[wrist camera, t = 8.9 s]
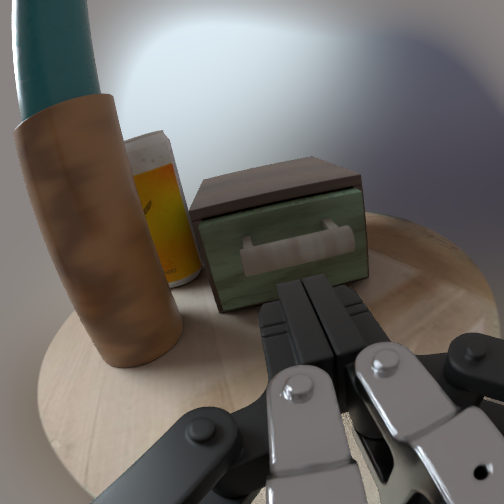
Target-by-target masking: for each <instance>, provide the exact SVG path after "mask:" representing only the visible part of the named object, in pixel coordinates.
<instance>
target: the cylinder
mask: <svg viewBox="0 0 504 504" xmlns="http://www.w3.org/2000/svg"><path fill="white" fill-rule="evenodd" d="M12 41H13V57H14V70H15V79H16V87H17V95H18V101H19V108H20V114H21V119H22V122H23V121H25V120H26V119H28V118H29V117H31V116H33V115H34V114H36V113H38V112H40V111H42V110H44V109H46V108H48V107H51V106H53V105H56V104H58V103H61V102H64V101H67V100H70V99H73V98H77V97H81V96H86V95H92V94H101V91H100V86H99V81H98V76H97V70H96V64H95V58H94V52H93V47H92V39H91V32H90V26H89V17H88V8H87V0H12Z"/></svg>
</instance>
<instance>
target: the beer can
mask: <svg viewBox="0 0 504 504" xmlns="http://www.w3.org/2000/svg"><path fill="white" fill-rule="evenodd" d="M124 144H125V148H126V152H127V156H128V159H129V163H130V167H131V170H132V174H133V177H134V181H135V184H136V188H137V191H138V195H139V198H140V201H141V204H142V208H143V211H144V214H145V217H146V220H147V224H148V227H149V230H150V233H151V236H152V239H153V242H154V245H155V248H156V250H157V253H158V256H159V259H160V262H161V265H162V268H163V270H164V273H165V276H166V279H167V281H168V284H169V287H170V288H173V287H177V286H181V285H183V284H186V283H188V282H190V281H192V280H193V279H195V278H196V277H197V276H198V275H199V273H200V271H201V267H202V265H203V260H202V257H201V254H200V250H199V247H198V243H197V240H196V237H195V233H194V230H193V226H192V223H191V222H192V221H191V219H190V216H189V211H188V207H187V203H186V200H185V196H184V193H183V189H182V185H181V182H180V178H179V174H178V170H177V167H176V163H175V160H174V155H173V151H172V148H171V143H170V140H169V139H168V138H167V136H166V135H165V134H164V133H163V130H161V131H155V132H151V133H148V134H144V135H141V136H138V137H134V138H132V139H128V140H126V141H124Z"/></svg>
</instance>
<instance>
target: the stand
mask: <svg viewBox="0 0 504 504" xmlns="http://www.w3.org/2000/svg"><path fill="white" fill-rule="evenodd" d="M13 136H14V140H15V145H16V150H17V154H18V158H19V162H20V166H21V170H22V174H23V177H24V181H25V184H26V188H27V191H28V195H29V198H30V201H31V204H32V207H33V210H34V213H35V216H36V219H37V221H38V224H39V228H40V230H41V233H42V236H43V238H44V241H45V243H46V246H47V248H48V251H49V254H50V256H51V258H52V261H53V263H54V265H55V268H56V270H57V272H58V275H59V277H60V279H61V281H62V283H63V286H64V288H65V290H66V292H67V294H68V296H69V298H70V300H71V302H72V304H73V306H74V308H75V310H76V312H77V314H78V316H79V318H80V320H81V322H82V324H83V325H84V327H85V329H86V331H87V333H88V335H89V336H90V338H91V340H92V342H93V343H94V345H95V347H96V348H97V350H98V352H99V354H100V355H101V357H102V358H103V360H104V361H105V362H106V363H108V364H110V365H112V366H115V367H123V368H126V367H135V366H139V365H143V364H145V363H148V362H150V361H153V360H155V359H156V358H158V357H160V356H161V355H163V354H164V353H166V352H167V351H168V350H169V349H171V348H172V347H173V346H174V345H175V343H176V342H177V341H178V339H179V338H180V336H181V334H182V331H183V320H182V318H181V315H180V313H179V310H178V307H177V305H176V302H175V300H174V297H173V295H172V292H171V289H170V287H169V284H168V281H167V279H166V276H165V273H164V270H163V268H162V265H161V262H160V259H159V256H158V253H157V250H156V248H155V245H154V242H153V239H152V236H151V233H150V230H149V227H148V224H147V220H146V217H145V214H144V211H143V208H142V204H141V201H140V198H139V195H138V191H137V188H136V184H135V181H134V177H133V174H132V170H131V167H130V163H129V159H128V156H127V152H126V148H125V144H124V140H123V136H122V132H121V129H120V124H119V120H118V116H117V111H116V107H115V103H114V98H113V96H112V95H110V94H92V95H86V96H81V97H77V98H73V99H70V100H67V101H64V102H61V103H58V104H56V105H53V106H51V107H48V108H46V109H44V110H42V111H40V112H38V113H36V114H34V115H33V116H31V117H29V118H28V119H26V120H25V121H23V122H22V123H21V124H20V125H18V127H16V129H15V130H14V132H13Z"/></svg>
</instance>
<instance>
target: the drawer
mask: <svg viewBox="0 0 504 504" xmlns="http://www.w3.org/2000/svg"><path fill="white" fill-rule="evenodd" d="M211 218H212V219H208V220H204V221H200V223H199V231H200V234H201V238H202V241H203V245H204V248H205V252H206V255H207V258H208V262H209V265H210V268H211V272H212V275H213V278H214V282H215V285H216V288H217V291H218V295H219V298H220V301H221V304H222V307H223V310H224V311H225V310H230V309H235V308H239V307H244V306H248V305H253V304H258V303H262V302H266V301H271V300H275V299H279V298H278V293H277V288H276V284H280V283H285V282H289V281H293V280H298V279H299V280H301V279H302V278H306V277H310V276H314V275H318V274H323V273H324V274H325V276H326V277H327V279H328V281H329V282H330V284H331V285H332V286H333V285H337V284H341V283H344V282H348V281H352V280H356V279H359V278H363V277H367V276H368V269H367V249H366V234H365V221H364V210H363V200H362V191H360V190H358V189H356V188H352V189H346V190H341V189H337V190H332V191H327V192H322V193H317V194H312V195H307V196H302V197H297V198H292V199H288V200H283V201H278V202H274V203H269V204H265V205H260V206H256V207H251V208H247V209H242V210H238V211H234V212H229V213H225V214H221V215H217V216H213V217H211Z"/></svg>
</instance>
